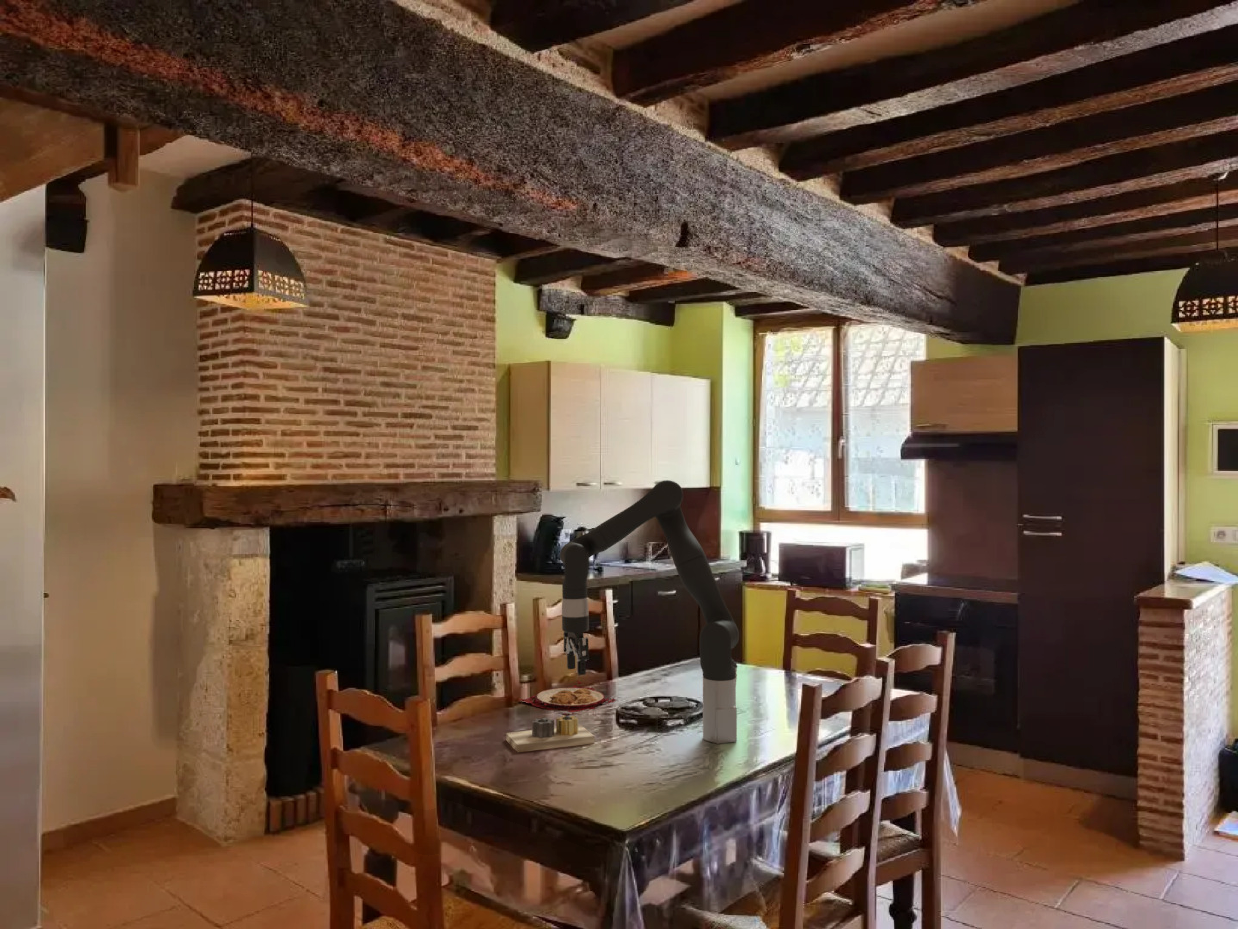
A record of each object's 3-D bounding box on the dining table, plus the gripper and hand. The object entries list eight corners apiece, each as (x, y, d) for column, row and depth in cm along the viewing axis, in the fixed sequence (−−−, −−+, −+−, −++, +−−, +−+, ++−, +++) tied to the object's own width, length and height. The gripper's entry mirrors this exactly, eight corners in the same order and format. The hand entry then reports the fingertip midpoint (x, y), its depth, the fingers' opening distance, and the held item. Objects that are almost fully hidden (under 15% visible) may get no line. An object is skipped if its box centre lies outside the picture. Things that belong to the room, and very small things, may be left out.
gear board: (594, 743, 259) (594, 719, 259) (517, 752, 251) (517, 728, 251) (580, 731, 270) (580, 709, 270) (506, 740, 262) (506, 717, 262)
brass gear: (580, 734, 260) (580, 720, 260) (560, 736, 258) (560, 722, 258) (573, 728, 266) (573, 714, 266) (554, 731, 264) (554, 716, 264)
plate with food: (518, 704, 304) (517, 694, 304) (575, 689, 322) (575, 679, 322) (567, 719, 287) (567, 708, 287) (625, 702, 305) (625, 691, 305)
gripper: (596, 616, 258) (598, 675, 258) (579, 609, 271) (580, 665, 271) (571, 618, 255) (572, 678, 255) (554, 611, 268) (555, 668, 268)
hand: (576, 671), depth 263 cm, fingers open, 8 cm apart
